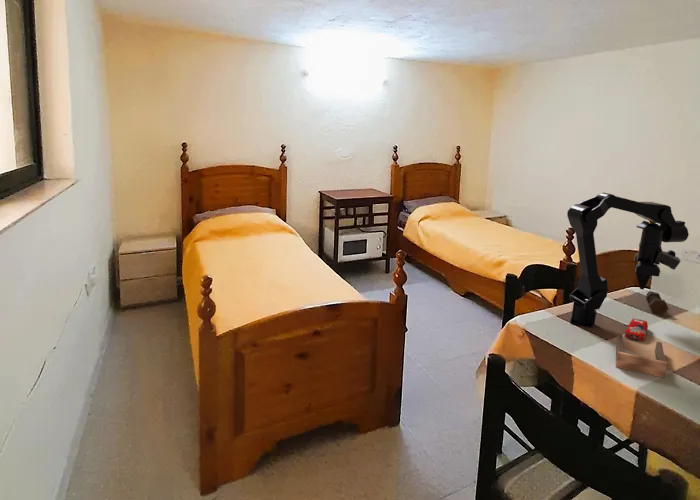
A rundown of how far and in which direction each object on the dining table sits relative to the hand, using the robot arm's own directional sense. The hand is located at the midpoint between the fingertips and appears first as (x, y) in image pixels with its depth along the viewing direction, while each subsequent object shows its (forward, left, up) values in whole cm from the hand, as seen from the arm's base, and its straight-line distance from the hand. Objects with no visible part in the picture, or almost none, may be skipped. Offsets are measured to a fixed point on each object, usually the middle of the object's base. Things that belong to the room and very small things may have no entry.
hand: (641, 288), depth 151 cm
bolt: (+6, +18, -12) cm, 22 cm away
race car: (0, -12, -12) cm, 17 cm away
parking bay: (0, -31, -11) cm, 32 cm away
